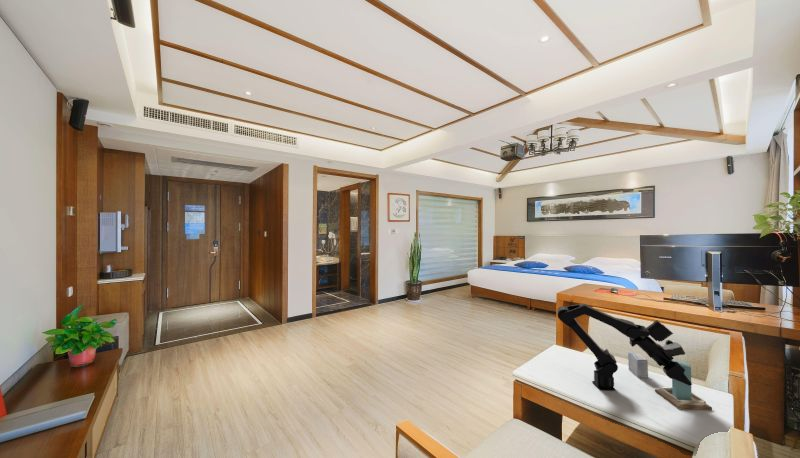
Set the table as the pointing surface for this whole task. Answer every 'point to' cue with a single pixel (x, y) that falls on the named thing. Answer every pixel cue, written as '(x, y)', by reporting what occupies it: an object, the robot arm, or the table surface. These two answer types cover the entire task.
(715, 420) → the table surface
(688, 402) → the base plate
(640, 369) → the medicine box
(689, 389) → the column block
